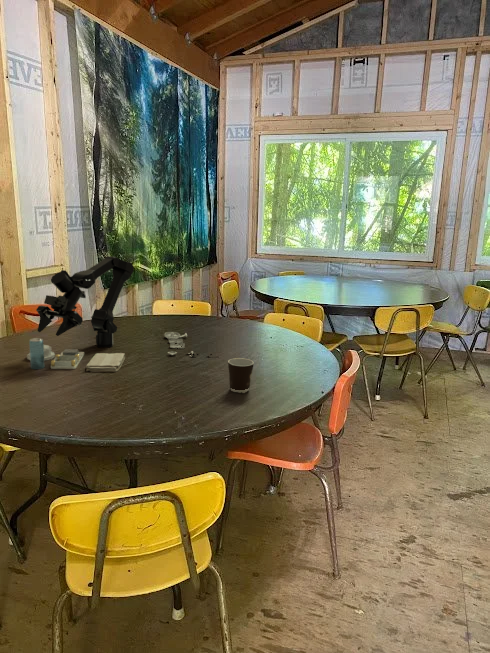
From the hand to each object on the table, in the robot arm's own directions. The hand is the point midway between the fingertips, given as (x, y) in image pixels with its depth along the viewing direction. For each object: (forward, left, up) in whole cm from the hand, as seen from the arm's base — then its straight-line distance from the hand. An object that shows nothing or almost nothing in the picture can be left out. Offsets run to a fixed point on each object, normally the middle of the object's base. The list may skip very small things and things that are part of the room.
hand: (47, 333), depth 170 cm
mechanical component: (+5, -8, -12) cm, 15 cm away
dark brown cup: (-69, +28, -12) cm, 75 cm away
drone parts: (-54, -25, -12) cm, 61 cm away
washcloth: (-21, +1, -12) cm, 24 cm away
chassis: (-6, -3, -12) cm, 13 cm away
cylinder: (+3, +4, -12) cm, 13 cm away
